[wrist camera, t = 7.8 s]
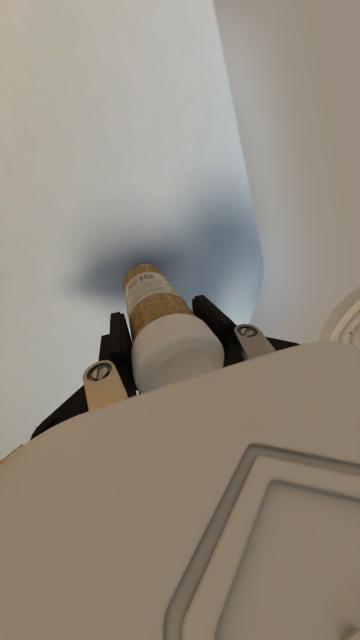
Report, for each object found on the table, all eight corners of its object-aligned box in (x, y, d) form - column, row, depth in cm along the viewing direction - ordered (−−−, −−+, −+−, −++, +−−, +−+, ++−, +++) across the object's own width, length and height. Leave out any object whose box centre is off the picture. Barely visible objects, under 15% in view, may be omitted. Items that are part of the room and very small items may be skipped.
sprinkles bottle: (128, 306, 20) (145, 418, 9) (117, 265, 17) (120, 351, 6) (167, 297, 21) (225, 389, 10) (162, 258, 18) (231, 322, 7)
